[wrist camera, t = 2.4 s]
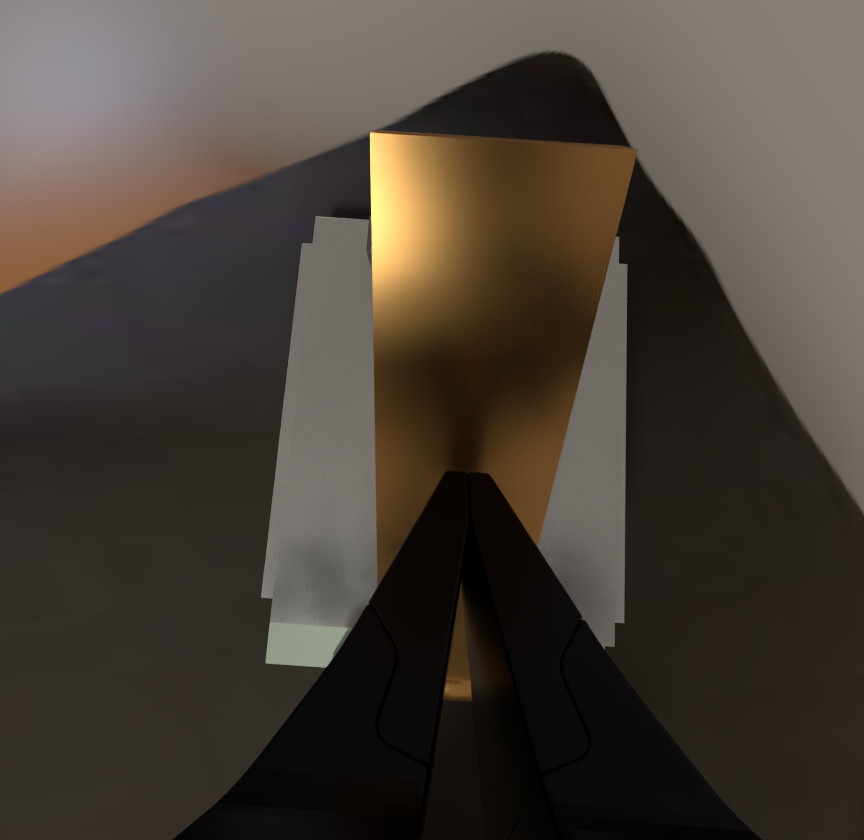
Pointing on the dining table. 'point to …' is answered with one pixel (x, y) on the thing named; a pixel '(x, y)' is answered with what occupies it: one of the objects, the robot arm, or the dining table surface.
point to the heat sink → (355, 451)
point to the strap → (482, 317)
